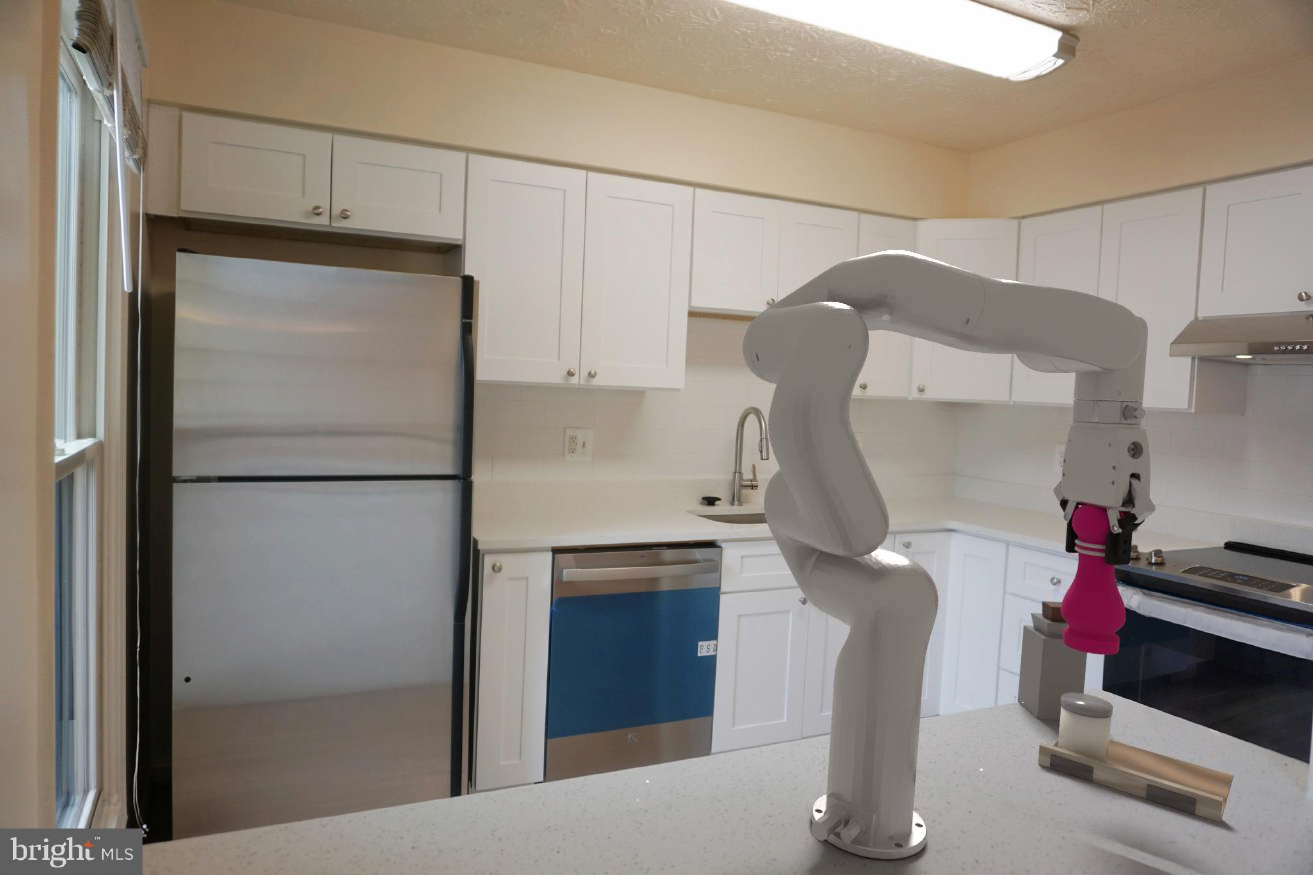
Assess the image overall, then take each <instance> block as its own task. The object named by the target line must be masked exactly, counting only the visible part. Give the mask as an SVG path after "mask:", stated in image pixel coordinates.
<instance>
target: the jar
mask: <svg viewBox="0 0 1313 875" xmlns="http://www.w3.org/2000/svg"><path fill="white" fill-rule="evenodd" d="M1113 713H1114V706H1113V704H1112V703H1111V702H1109V701H1108V700H1107V699H1104V698H1101V697H1098V696H1095V695H1092V694H1087V693H1084V694H1082V693H1065V694H1063V695H1062V696H1061V715H1060V720H1059V727H1058V739H1057V741H1058V748H1061V749H1064V750H1067V751H1070V752H1074V753H1077V754H1080V755H1084V756H1087V757H1090V758H1093V759H1097V760H1100V761H1103V762H1107V761H1108V750H1109V740H1110V736H1111V726H1112V725H1111V724H1112V716H1113Z"/></svg>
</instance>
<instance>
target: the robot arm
mask: <svg viewBox="0 0 1313 875" xmlns="http://www.w3.org/2000/svg"><path fill="white" fill-rule="evenodd" d="M871 331H888V332H893V333H897V334H901V335H905V336H910V337H913V338H918V339H921V340H925V341H929V342H933V343H936V344H940V345H942V346H946V347H948V348H952V349H956V350H961V351H966V352H970V353H971V352H973V353H982V354H992V355H993V354H994V355H1016V358H1017V360H1018V361H1019V362H1020V363H1021V364H1022V365H1024V366H1025V367H1027V368H1028V369H1030V370H1033V371H1035V372H1040V373H1047V374H1054V373H1055V374H1070V373H1074V374H1075V375H1074V388H1073V405H1072V406H1073V407H1072V408H1073V409H1072V421H1071V424H1070V427H1069V430H1068V434H1067V438H1066V443H1065V447H1064V448H1065V449H1064V452H1063V458H1062V460H1063V462H1062V466H1061V468H1062V471H1061V478H1060V479H1061V480H1060V481H1059V482H1058V483H1057V484H1056V486H1055V487H1054V488H1053V494H1054V495H1055V498H1056V499H1057V501H1058V503H1059V506H1060V508H1061V510H1062V512H1063V513H1064V514H1063V519H1064V521H1065V522H1066V533H1065V546H1064V550H1065V552H1066V553H1069V554H1078V551H1076V550H1075V547H1076V544H1077V543H1076V542H1075V540H1076V539H1079V537H1078V535H1077V533H1076V532H1075V531H1074V529H1073V526H1072V519H1073V516H1074V513H1075V512H1076V510H1077V509H1078V508H1079V507H1081V506H1083V505H1085V504H1088V505H1093V506H1098V507H1103V508H1107V513H1108V517H1109V522H1110V526H1111V530H1112V532H1107V534H1106V548H1105V563H1106V564H1108V565H1114V566H1125V565H1126V566H1128V565H1130V564H1131V560H1132V559H1131V557H1132V544H1133V534H1135V533H1137V532H1138V529H1139V527H1140V526H1141V525H1142V524H1144V522H1145V521H1146V519H1148V518H1149V517H1150V516H1151V515H1152V514H1153V513H1154V512H1155V511H1156V505H1155V503H1154V502H1153V501H1152V499H1151V498H1150V496H1151V495H1150V494H1151V456H1150V455H1151V454H1150V446H1149V445H1150V443H1149V439H1148V437H1149V436H1148V434H1147V429H1146V428H1142V419H1143V418H1145V415H1146V411H1145V409H1144V408H1143V405H1144V402H1143V401H1144V390H1145V378H1146V367H1147V366H1146V364H1147V353H1148V352H1147V351H1148V339H1149V338H1148V337H1149V336H1148V335H1149V327H1148V323H1147V321H1146V319H1144V318H1143V317H1142V316H1138V315H1136V314H1135V313H1133V311H1131V310H1130V309H1129V308H1127V307H1126V306H1124V305H1122V304H1119V303H1117V302H1115V301H1112V300H1109V299H1105V298H1102V297H1100V296H1096V295H1093V294H1089V293H1086V292H1082V291H1077V290H1073V289H1066V288H1058V287H1053V286H1047V285H1046V286H1045V285H1038V284H1032V283H1027V282H1021V281H1016V280H1007V279H1000V278H993V277H989V276H985V275H983V274H980V273H976V272H973V271H971V270H967V269H964V268H962V267H961V268H960V267H958V266H954V265H951V264H948V263H946V262H943V261H939V260H936V259H933V258H930V257H927V256H924V255H921V254H918V253H914V252H910V251H906V250H896V249H895V250H887V251H886V250H885V251H881V252H876V253H871V254H867V255H862V256H859V257H853V258H849V259H845V260H843V261H840V262H839V263H837V264H835V265H833V266H832V267H829V268H828V269H826V270H825V271H822V273H820V274H819V275H817V276H815V277H814V278H812V279H811V280H809V281H807V282H806V283H804V284H803V285H801V286H799V287H798V288H797V289H795V290H794V291H792V292H791V293H789V294H788V295H786V296H785V297H783V298H782V299H780V300H778V301H777V302H775V303H773V304H771V305H770V306H769V307H767V308H766V309H764V310H763V311H762V312H760V313H759V314H758V315H756V317H755V318H754V319H753V320H752V321H751V322H750V324H749V325H748V327H747V329H746V331H745V333H744V337H743V341H742V354H743V355H742V356H743V358H744V361H745V364H746V365H747V367H748V368H749V370H750V371H751V372H752V373H753V375H755V376H756V377H757V378H759V379H760V380H761V381H764V382H767V383H771V384H775V388H774V392H773V395H772V398H771V399H772V400H771V403H770V407H769V412H768V420H767V432H768V438H769V443H770V446H771V449H772V452H773V454H774V455H773V456H774V458H775V460H776V462H777V465H778V467H779V469H778V470H777V471H776V472H775V473H774V474H773V475H772V476H771V478H770V479H769V481H768V483H767V486H766V489H765V490H764V491H765V492H764V495H763V496H764V497H763V510H764V516H765V521H766V524H767V526H768V528H769V531H770V533H771V535H772V537H773V539H774V541H775V543H776V545H777V548H778V549H779V551H780V554H781V555H782V557H783V559H784V561H785V563H786V565H787V566H788V570H789V571H790V573H791V574H792V577H793V578H794V581H795V582H796V585H797V586H798V587H799V589H800V591H801V593H802V594H803V596H804V597H805V599H806V600H807V601H809V603H810V604H811V605H812V606H813V607H814V608H816V609H818V610H819V611H820V612H822V613H824V614H826V615H827V616H830V617H832V618H834V619H836V620H837V621H840V622H842V623H843V624H844V625H846V626H849V632H848V634H847V637H846V639H845V642H844V644H843V646H842V647H841V649H840V651H839V653H838V656H837V658H836V662H835V667H834V674H833V683H832V684H833V685H832V686H833V688H832V690H833V691H832V692H833V693H832V705H831V706H832V707H831V708H832V709H831V719H830V720H831V722H830V736H829V739H830V740H829V752H828V764H827V765H828V768H827V785H826V794H823V795H821V796H820V797H818V798H817V799H816V800H815V802H814V803H813V804H812V807H811V815H810V816H811V823H812V824H811V830H810V831H811V833H812V835H813V836H814V838H815V839H817V840H819V841H825V840H826V841H827V842H829V843H830V844H832V845H834V846H836V847H837V848H839V849H841V850H844V851H846V852H848V853H851V854H854V855H858V856H861V857H865V858H866V857H867V858H871V859H879V860H896V859H897V860H898V859H902V858H907V857H911V856H913V855H915V854H917V853H919V852H920V851H921V850H922V849H923V848H925V845H926V843H927V835H928V828H927V825H926V823H925V822H924V820H923V818H922V817H921V816H920V815H919V813H917V812H916V811H915V810H914V809H915V808H914V807H915V805H914V804H915V796H916V795H915V793H916V782H917V781H916V779H917V766H918V752H919V751H918V750H919V740H920V738H919V737H920V726H921V713H922V695H923V682H924V681H923V680H924V670H925V664H926V657H927V651H928V646H929V642H930V639H931V635H932V632H933V629H934V627H935V626H934V625H935V623H936V618H937V615H938V610H939V593H938V588H937V586H936V584H935V581H934V579H933V578H932V576H931V574H930V573H929V572H928V571H927V570H926V569H925V568H924V567H923V566H922V565H921V564H920V563H918V562H917V561H915V560H914V559H911V558H909V557H908V556H906V555H903V554H900V553H898V552H895V551H892V550H888V549H885V548H882V547H881V546H882V545H883V544H884V542H886V539H887V537H888V533H889V529H890V518H889V517H890V516H889V512H888V508H887V505H886V502H885V499H884V497H883V495H882V493H881V491H880V489H879V487H878V484H877V482H876V480H875V477H874V475H873V474H872V472H871V469H870V467H869V465H868V462H867V460H866V458H865V457H864V454H863V451H862V449H861V448H860V446H859V443H858V440H857V437H856V436H855V432H854V429H853V426H852V423H851V416H850V408H851V407H850V406H851V399H852V396H853V392H854V389H855V386H856V383H857V381H858V378H859V376H860V374H861V372H862V370H863V368H864V366H865V363H866V360H867V357H868V354H869V348H870V332H871ZM1119 513H1123V516H1124V517H1123V518H1122V519H1121V520H1120V515H1119Z"/></svg>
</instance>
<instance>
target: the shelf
mask: <svg viewBox="0 0 1313 875" xmlns="http://www.w3.org/2000/svg"><path fill="white" fill-rule="evenodd" d="M1038 747H1039V749H1038V760H1037V764H1038V765H1041V766H1044V767H1048V768H1049V769H1051V770H1055V771H1059V772H1061V773H1065V774H1068V775H1071V776H1074V777H1077V778H1081V779H1083V780H1087V781H1090V782H1094V783H1096V784H1097V783H1098V784H1101V785H1103V786H1107V787H1110V788H1112V789H1116V790H1119V791H1122V792H1126V793H1129V794H1130V795H1131V794H1132V795H1135V796H1137V797H1142V798H1144V799H1145V800H1149V801H1152V802H1154V803H1158V804H1162V805H1164V806H1167V807H1170V808H1173V809H1176V810H1180V811H1184V812H1187V813H1189V814H1192V815H1197V816H1200V817H1203V818H1207V819H1210V820H1213V821H1216V822H1218V823H1221V821H1222V817H1223V814H1224V811H1225V807H1226V803H1227V799H1228V795H1229V792H1230V789H1231V784H1232V782H1233V778H1234V775H1233V774H1229V773H1226V772H1224V771H1220V770H1216V769H1212V768H1210V767H1205V766H1201V765H1198V764H1194V763H1192V762H1188V761H1185V760H1181V759H1177V758H1173V757H1171V756H1167V755H1164V754H1160V753H1156V752H1153V751H1149V750H1146V749H1142V748H1138V747H1135V746H1134V745H1133V746H1132V745H1129V744H1125V743H1122V742H1119V741H1114V740H1111V739H1109V750H1108V761H1107V762H1103V761H1100V760H1097V759H1093V758H1090V757H1087V756H1084V755H1080V754H1077V753H1074V752H1070V751H1067V750H1064V749H1061V748H1058V740H1056V742H1054V744H1053V745H1050V744H1047V743H1044V742H1040V744H1039V746H1038Z"/></svg>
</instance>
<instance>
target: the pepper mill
mask: <svg viewBox="0 0 1313 875" xmlns="http://www.w3.org/2000/svg"><path fill="white" fill-rule="evenodd" d="M1119 515H1120V520H1121V519H1122V518H1123V517H1124V516H1123V513H1119ZM1072 526H1073V529H1074V531H1075V532H1076V533H1077V535H1078V537H1079V539H1076V540H1075V542H1076V543H1077V544H1076V547H1075V550H1076V551H1078V553H1077V557H1078V558H1077V559H1078V562H1077V568H1076V569H1077V570H1076V573H1075V576H1074V578H1073V581H1072V582H1071V584H1070V585H1069V588H1068V589H1067V590H1066V592H1065V594H1064V596H1063V599H1062V601H1061V602H1062V605H1061V614H1062V617H1063V618H1064V620H1065V621H1066V622H1067V623H1068V625H1069V627H1066V628H1065V629H1064V633H1063V643H1064V644H1065V645H1066V646H1068V647H1070V648H1072V649H1075V650H1078V651H1082V652H1086V653H1087V654H1092V655H1101V656H1102V655H1103V656H1104V655H1105V656H1107V655H1108V656H1109V655H1115V654H1117V653H1118V652H1119V651H1120V637H1119V635H1118V634H1116V632H1118V631H1119V630H1120V629H1121V628H1122V627H1123V626H1124V625H1125V623H1126V619H1127V618H1126V613H1127V612H1126V607H1125V603H1124V600H1123V598H1122V595H1121V593H1120V590H1119V587H1118V585H1117V580H1116V575H1115V565H1108V564H1106V563H1105V548H1106V534H1107V532H1112V530H1111V526H1110V522H1109V517H1108V513H1107V508H1103V507H1098V506H1093V505H1088V504H1085V505H1083V506H1079V508H1078V509H1077V510H1076V512H1075V513H1074V516H1073V519H1072Z"/></svg>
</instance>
